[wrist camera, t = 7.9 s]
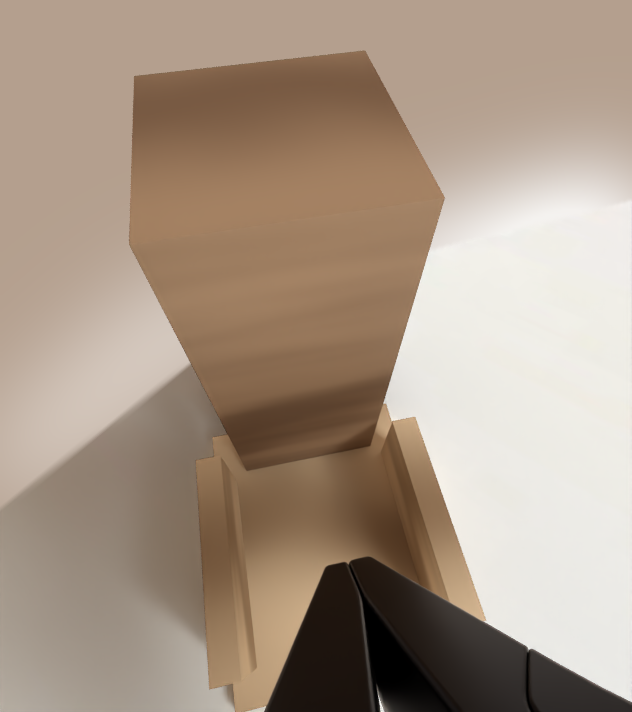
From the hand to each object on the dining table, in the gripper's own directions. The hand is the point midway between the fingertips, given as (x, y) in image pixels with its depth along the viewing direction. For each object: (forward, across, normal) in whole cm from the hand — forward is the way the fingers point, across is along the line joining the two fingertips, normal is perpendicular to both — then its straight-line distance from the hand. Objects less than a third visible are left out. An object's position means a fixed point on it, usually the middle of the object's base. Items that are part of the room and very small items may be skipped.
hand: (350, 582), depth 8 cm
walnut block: (+11, 0, -1) cm, 11 cm away
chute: (+8, 0, -4) cm, 9 cm away
